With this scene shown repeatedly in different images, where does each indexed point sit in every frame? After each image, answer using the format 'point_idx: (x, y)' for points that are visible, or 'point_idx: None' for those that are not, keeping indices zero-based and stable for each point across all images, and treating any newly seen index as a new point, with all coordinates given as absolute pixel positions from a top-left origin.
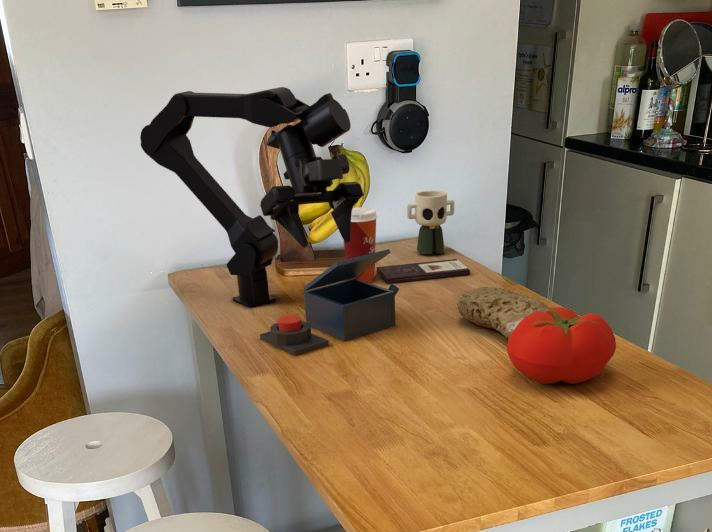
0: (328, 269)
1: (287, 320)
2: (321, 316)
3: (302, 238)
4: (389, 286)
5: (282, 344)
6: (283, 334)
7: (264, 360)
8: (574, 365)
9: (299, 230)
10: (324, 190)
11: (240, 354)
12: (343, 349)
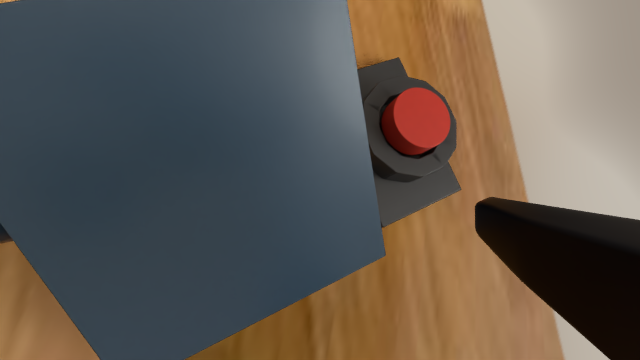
0: (350, 41)
1: (428, 110)
2: None
3: (542, 208)
4: (3, 227)
5: None
6: (430, 85)
7: (450, 73)
8: None
9: (620, 217)
10: None
11: (491, 124)
12: None
